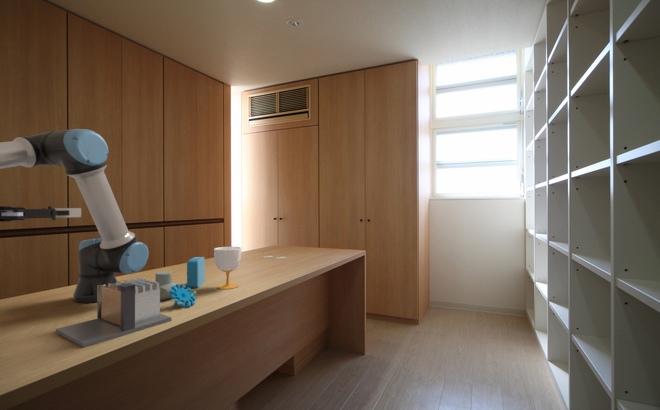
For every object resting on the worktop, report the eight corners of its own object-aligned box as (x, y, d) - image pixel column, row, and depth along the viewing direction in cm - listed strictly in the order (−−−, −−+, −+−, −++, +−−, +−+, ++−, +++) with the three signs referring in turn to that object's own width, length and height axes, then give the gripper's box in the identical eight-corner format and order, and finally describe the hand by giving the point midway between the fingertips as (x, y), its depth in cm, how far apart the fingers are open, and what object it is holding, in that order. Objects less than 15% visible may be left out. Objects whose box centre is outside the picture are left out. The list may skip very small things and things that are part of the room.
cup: (246, 285, 154) (246, 247, 154) (229, 291, 143) (229, 250, 143) (226, 282, 158) (226, 246, 158) (207, 288, 148) (207, 249, 148)
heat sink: (106, 319, 105) (107, 283, 105) (139, 310, 114) (139, 277, 114) (126, 326, 99) (126, 289, 99) (159, 317, 107) (160, 282, 107)
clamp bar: (95, 317, 105) (95, 285, 105) (103, 315, 107) (103, 283, 107) (122, 327, 97) (122, 292, 97) (130, 325, 99) (130, 290, 99)
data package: (194, 282, 159) (194, 256, 159) (204, 282, 160) (204, 256, 159) (186, 288, 147) (186, 260, 147) (197, 288, 148) (197, 260, 148)
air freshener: (143, 301, 128) (144, 274, 128) (156, 295, 137) (156, 270, 137) (172, 301, 128) (172, 275, 128) (182, 295, 136) (182, 270, 136)
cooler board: (55, 332, 97) (55, 285, 97) (141, 310, 117) (141, 271, 117) (83, 347, 87) (83, 294, 87) (171, 320, 107) (171, 277, 107)
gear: (179, 306, 116) (167, 283, 120) (169, 317, 117) (157, 294, 121) (203, 302, 126) (192, 281, 130) (194, 312, 127) (183, 291, 131)
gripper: (-39, 228, 87) (70, 224, 107) (-25, 231, 80) (89, 225, 100) (-39, 199, 87) (70, 200, 107) (-25, 199, 80) (89, 200, 100)
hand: (79, 212), depth 103 cm, fingers closed
